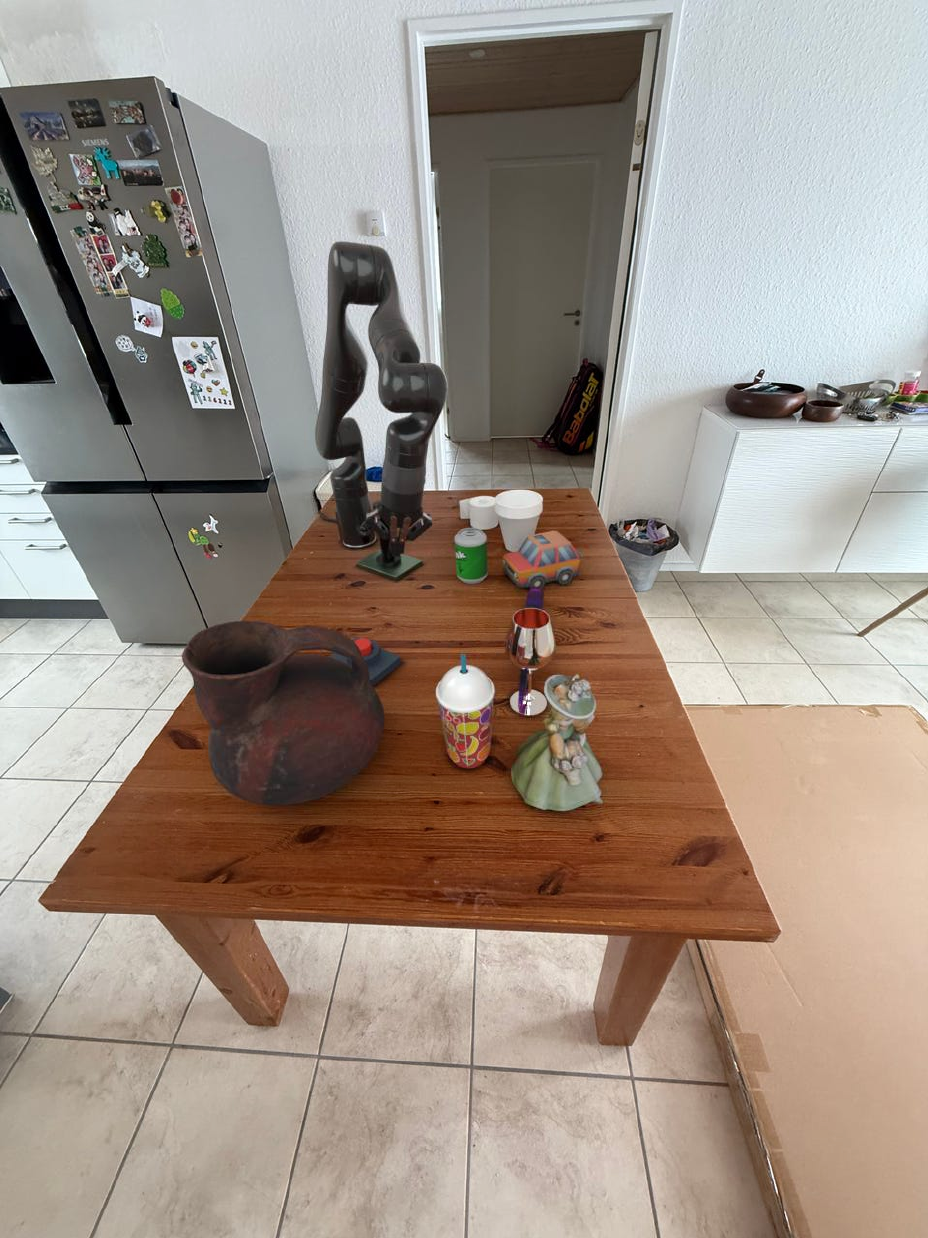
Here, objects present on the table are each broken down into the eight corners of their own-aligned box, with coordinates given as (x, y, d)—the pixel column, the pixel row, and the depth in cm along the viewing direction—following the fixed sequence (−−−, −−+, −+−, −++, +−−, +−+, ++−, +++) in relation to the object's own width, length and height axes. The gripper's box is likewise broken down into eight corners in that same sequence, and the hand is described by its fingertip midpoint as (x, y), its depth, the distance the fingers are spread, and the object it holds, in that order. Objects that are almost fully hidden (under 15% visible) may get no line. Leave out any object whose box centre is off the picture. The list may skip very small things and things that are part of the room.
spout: (378, 521, 127) (375, 500, 124) (393, 522, 127) (390, 500, 123) (358, 549, 115) (353, 526, 112) (374, 550, 115) (370, 526, 112)
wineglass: (556, 691, 91) (562, 607, 80) (547, 724, 84) (552, 637, 74) (511, 683, 93) (512, 600, 83) (499, 714, 87) (498, 629, 77)
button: (349, 653, 98) (347, 646, 97) (362, 643, 100) (361, 636, 99) (362, 659, 96) (360, 652, 95) (375, 649, 98) (374, 642, 97)
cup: (548, 542, 139) (551, 493, 131) (528, 561, 130) (529, 511, 122) (508, 533, 144) (508, 486, 136) (486, 551, 136) (485, 502, 128)
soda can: (488, 570, 127) (487, 526, 121) (486, 586, 121) (485, 540, 114) (458, 570, 128) (456, 526, 121) (455, 585, 122) (452, 540, 115)
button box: (328, 664, 100) (325, 650, 98) (358, 643, 105) (355, 629, 103) (372, 686, 94) (369, 672, 92) (401, 663, 99) (399, 649, 97)
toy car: (499, 573, 126) (499, 536, 120) (560, 559, 130) (562, 523, 124) (519, 596, 117) (519, 557, 111) (583, 580, 121) (587, 542, 115)
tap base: (356, 566, 132) (349, 527, 126) (383, 551, 139) (377, 513, 132) (396, 581, 125) (391, 540, 119) (422, 564, 132) (418, 525, 125)
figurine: (571, 852, 66) (585, 749, 55) (486, 794, 74) (482, 693, 62) (622, 779, 75) (644, 677, 63) (542, 734, 83) (547, 636, 71)
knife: (527, 602, 115) (527, 583, 112) (543, 603, 114) (544, 584, 111) (507, 720, 85) (507, 697, 82) (529, 722, 84) (530, 700, 81)
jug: (394, 817, 72) (367, 684, 57) (209, 849, 69) (131, 719, 55) (387, 695, 92) (365, 576, 78) (243, 717, 89) (193, 597, 75)
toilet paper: (460, 518, 154) (459, 496, 150) (498, 517, 153) (497, 495, 149) (459, 530, 147) (458, 507, 143) (498, 529, 147) (498, 506, 143)
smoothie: (441, 736, 83) (431, 639, 72) (492, 731, 84) (489, 634, 72) (444, 778, 77) (433, 679, 65) (499, 773, 77) (498, 673, 65)
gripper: (438, 470, 94) (426, 542, 107) (365, 465, 91) (362, 540, 104) (442, 495, 89) (430, 567, 102) (365, 490, 86) (362, 565, 99)
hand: (396, 553), depth 103 cm, fingers closed
